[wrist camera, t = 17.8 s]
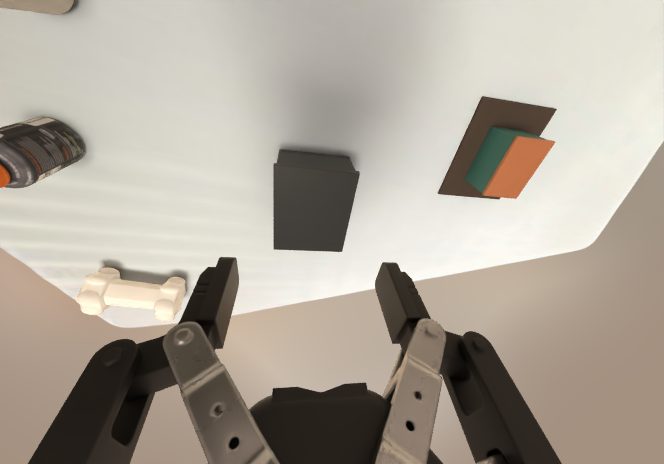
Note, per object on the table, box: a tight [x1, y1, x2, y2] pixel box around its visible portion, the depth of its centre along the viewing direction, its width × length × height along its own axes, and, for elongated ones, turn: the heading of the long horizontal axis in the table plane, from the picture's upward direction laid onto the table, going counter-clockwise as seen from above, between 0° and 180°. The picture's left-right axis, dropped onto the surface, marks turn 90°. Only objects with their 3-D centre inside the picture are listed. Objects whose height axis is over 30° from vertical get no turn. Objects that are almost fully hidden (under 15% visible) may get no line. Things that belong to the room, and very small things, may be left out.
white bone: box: [76, 267, 186, 321], centre depth 47 cm, size 15×9×8 cm, turn 70°
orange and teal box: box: [465, 126, 555, 199], centre depth 38 cm, size 9×6×6 cm
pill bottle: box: [0, 118, 85, 188], centre depth 28 cm, size 6×6×11 cm
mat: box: [438, 97, 557, 199], centre depth 41 cm, size 16×13×1 cm
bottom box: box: [274, 150, 360, 252], centre depth 39 cm, size 15×12×7 cm
